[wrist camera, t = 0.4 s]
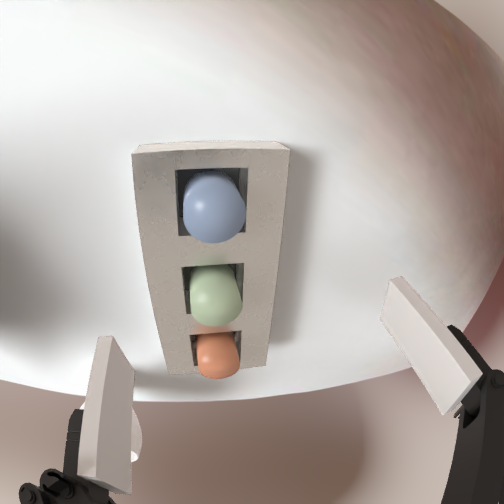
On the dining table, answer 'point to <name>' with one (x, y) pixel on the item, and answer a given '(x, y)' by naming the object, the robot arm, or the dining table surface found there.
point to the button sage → (214, 295)
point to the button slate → (213, 207)
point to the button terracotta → (217, 355)
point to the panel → (200, 253)
